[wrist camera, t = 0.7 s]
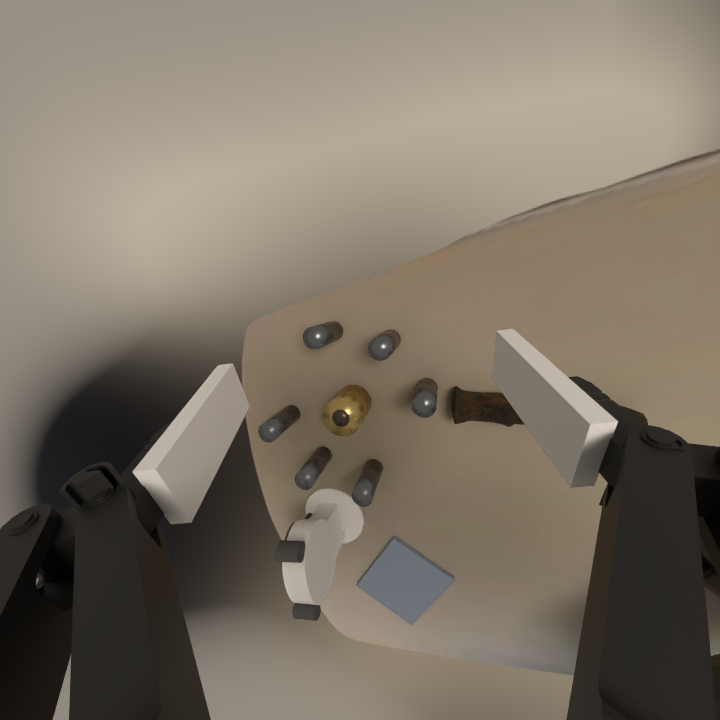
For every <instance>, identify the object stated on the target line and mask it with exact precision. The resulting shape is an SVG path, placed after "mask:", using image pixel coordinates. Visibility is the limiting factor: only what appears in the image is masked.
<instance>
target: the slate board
mask: <svg viewBox="0 0 720 720" xmlns="http://www.w3.org/2000/svg"><path fill="white" fill-rule="evenodd" d="M453 581H454V577H453V576H452V575H450V574H449V573H447V572H446V571H444V570H443V569H442V568H440V567H439V566H437V565H436V564H434V563H433V562H431V561H430V560H428V559H427V558H426V557H424V556H423V555H421V554H420V553H418V552H417V551H415V550H414V549H412V548H411V547H410V546H408V545H407V544H405V543H404V542H402V541H401V540H399V539H398V538H396V537H395V536H394V537H393V538H392V539H391V540H390V542H389V543H388V544H387V546H386V547H385V548H384V549H383V551H382V552H381V553H380V555H379V556H378V557H377V558H376V560H375V561H374V562H373V564H372V565H371V566H370V567H369V569H368V570H367V571H366V573H365V574H364V575H363V576H362V578H361V579H360V580H359V582H358V583H357V586H358V587H359V588H361V589H362V590H364V591H365V592H366V593H368V594H369V595H370V596H372V597H373V598H375V599H376V600H377V601H379V602H380V603H382V604H383V605H384V606H386V607H387V608H388V609H390V610H391V611H393V612H394V613H395V614H397V615H398V616H400V617H401V618H402V619H404V620H405V621H406V622H408V623H409V624H411V625H412V624H413V623H414V622H415V621H416V620H417V619H418V618H419V617H420V616H421V615H422V614H423V613H424V612H425V611H426V610H427V608H428V607H429V606H430V605H431V604H432V603H433V602H434V601H435V600H436V599H437V598H438V597H439V596H440V595H441V594H442V593H443V592H444V591H445V590H446V589H447V587H448V586H449V585H450V584H451V583H452V582H453Z"/></svg>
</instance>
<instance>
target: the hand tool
mask: <svg viewBox="0 0 720 720" xmlns="http://www.w3.org/2000/svg"><path fill="white" fill-rule="evenodd" d="M620 407H621V408H623V409H624V410H625V411H626V412H628V413H629V414H630V415H631V416H633V417H634V418H635V419H636V420H637V421H639V422H640V423H641V424H642V425H648V422H647V419H646V418H645V416H644V414H643V413H640V412H637V411H635V410H632V409H629V408H626V407H623V406H620ZM452 413H453V418H454V423H455V424H458V423H463V422H466V421H483V422H495V423H500V424H504V425H506V426H508V427H509V426H512V425H514V424H524V422H523V421H522V420H521V418H520V417H519V416H518V414H517V413H516V411H515V410H514V409H513V407H512V406H511V404H510V403H509V402H508V400H507V399H506V397H505V396H504V395H503V393H480V392H468V391H463V390H461V389H460V388H459V387H457V386H456V387H455V390H454V394H453V401H452Z"/></svg>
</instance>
